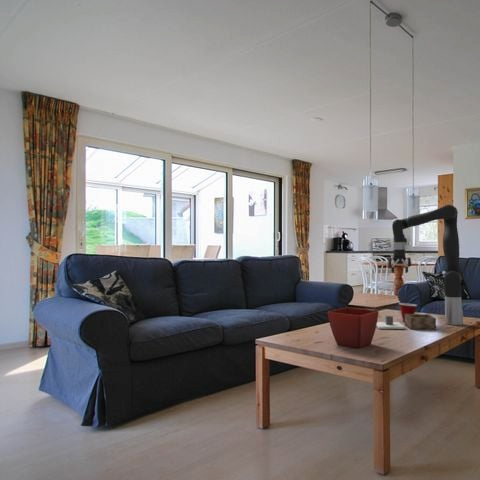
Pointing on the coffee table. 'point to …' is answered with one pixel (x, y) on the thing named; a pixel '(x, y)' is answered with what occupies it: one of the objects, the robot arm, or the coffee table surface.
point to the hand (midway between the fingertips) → (399, 272)
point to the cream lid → (389, 324)
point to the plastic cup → (407, 309)
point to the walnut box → (420, 322)
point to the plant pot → (353, 326)
